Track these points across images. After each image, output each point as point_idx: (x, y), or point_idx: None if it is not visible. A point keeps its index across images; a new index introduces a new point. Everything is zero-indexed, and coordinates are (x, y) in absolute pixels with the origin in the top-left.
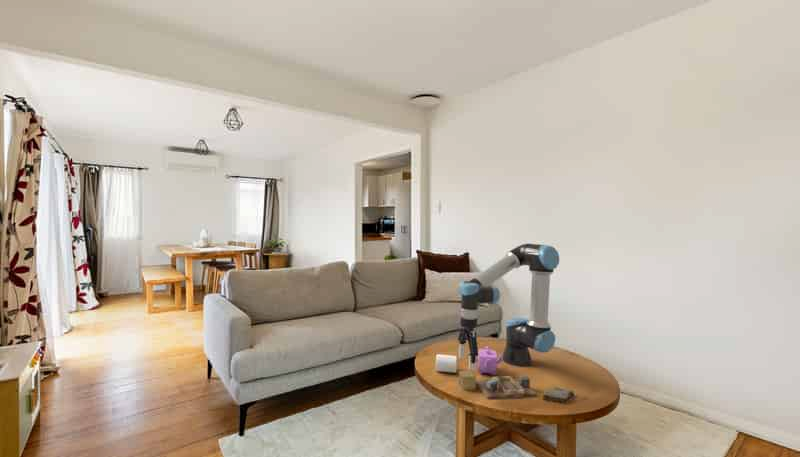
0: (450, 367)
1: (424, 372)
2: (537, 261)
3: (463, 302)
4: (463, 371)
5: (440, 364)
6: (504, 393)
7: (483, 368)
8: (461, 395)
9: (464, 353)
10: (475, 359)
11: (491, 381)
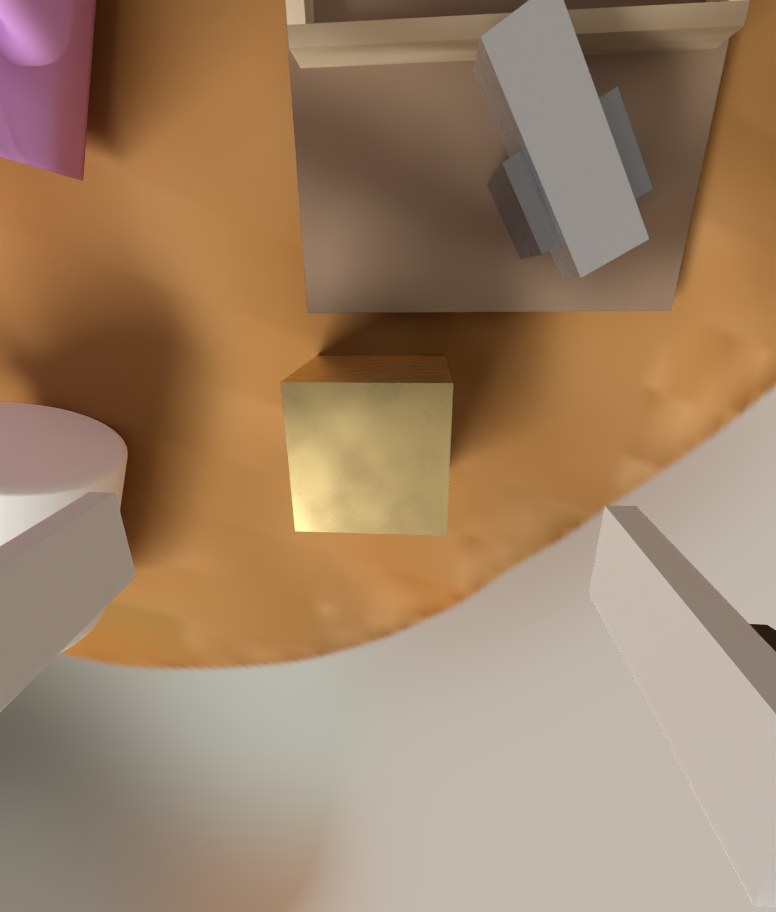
0: None
1: (131, 650)
2: None
3: None
4: (301, 482)
5: None
6: (691, 49)
7: (47, 90)
8: (534, 512)
9: (54, 546)
10: (767, 651)
11: (594, 185)
